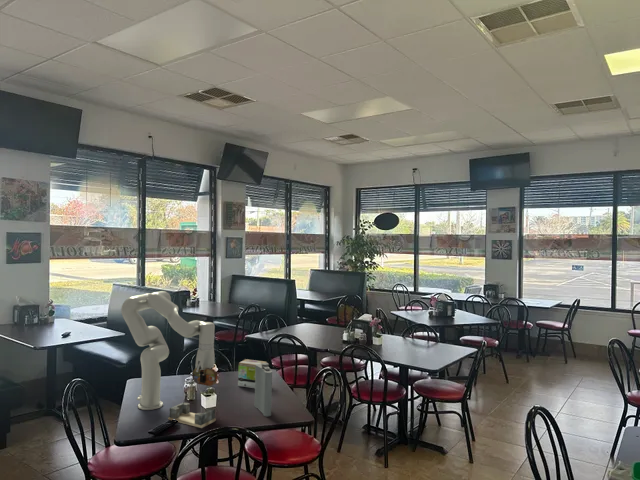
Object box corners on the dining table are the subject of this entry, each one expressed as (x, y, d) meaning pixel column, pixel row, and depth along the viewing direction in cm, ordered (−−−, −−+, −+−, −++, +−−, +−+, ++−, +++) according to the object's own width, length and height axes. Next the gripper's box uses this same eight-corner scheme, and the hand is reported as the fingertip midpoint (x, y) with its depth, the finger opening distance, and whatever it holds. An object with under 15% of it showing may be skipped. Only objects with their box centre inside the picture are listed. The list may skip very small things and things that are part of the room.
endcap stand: (201, 428, 224) (201, 416, 224) (168, 419, 234) (168, 408, 234) (215, 420, 234) (215, 409, 234) (183, 412, 243) (183, 401, 243)
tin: (191, 382, 248) (191, 366, 247) (195, 380, 250) (195, 365, 250) (214, 387, 241) (214, 371, 241) (218, 385, 244) (218, 369, 243)
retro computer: (237, 386, 289) (238, 362, 289) (244, 382, 298) (245, 358, 298) (260, 389, 284) (260, 365, 284) (266, 384, 294) (267, 361, 294)
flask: (273, 415, 243) (274, 367, 243) (265, 416, 241) (266, 367, 241) (261, 404, 258) (263, 358, 258) (253, 405, 256) (255, 359, 256)
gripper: (210, 342, 254) (209, 376, 254) (190, 348, 240) (188, 384, 240) (221, 344, 251) (220, 379, 251) (201, 350, 237) (199, 387, 237)
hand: (204, 381), depth 246 cm, fingers closed on tin, 2 cm apart
